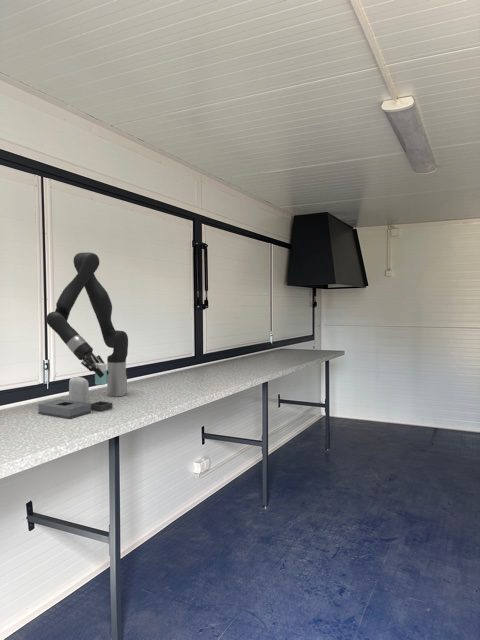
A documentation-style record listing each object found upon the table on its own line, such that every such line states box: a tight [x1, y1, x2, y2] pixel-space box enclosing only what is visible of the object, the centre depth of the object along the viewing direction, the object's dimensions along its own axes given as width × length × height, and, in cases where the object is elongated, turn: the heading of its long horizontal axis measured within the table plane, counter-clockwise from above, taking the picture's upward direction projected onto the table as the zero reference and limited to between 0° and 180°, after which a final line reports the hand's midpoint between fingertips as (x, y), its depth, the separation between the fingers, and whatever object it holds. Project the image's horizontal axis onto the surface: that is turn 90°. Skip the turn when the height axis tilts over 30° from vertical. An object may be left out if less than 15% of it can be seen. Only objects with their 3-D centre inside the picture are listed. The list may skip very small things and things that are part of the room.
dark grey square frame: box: [91, 400, 113, 412], centre depth 204 cm, size 7×7×2 cm
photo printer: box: [68, 376, 90, 403], centre depth 214 cm, size 10×4×12 cm, turn 60°
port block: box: [37, 398, 92, 420], centre depth 195 cm, size 12×18×4 cm, turn 65°
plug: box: [94, 363, 107, 386], centre depth 203 cm, size 4×4×9 cm
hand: (104, 375), depth 203 cm, fingers closed on plug, 4 cm apart
